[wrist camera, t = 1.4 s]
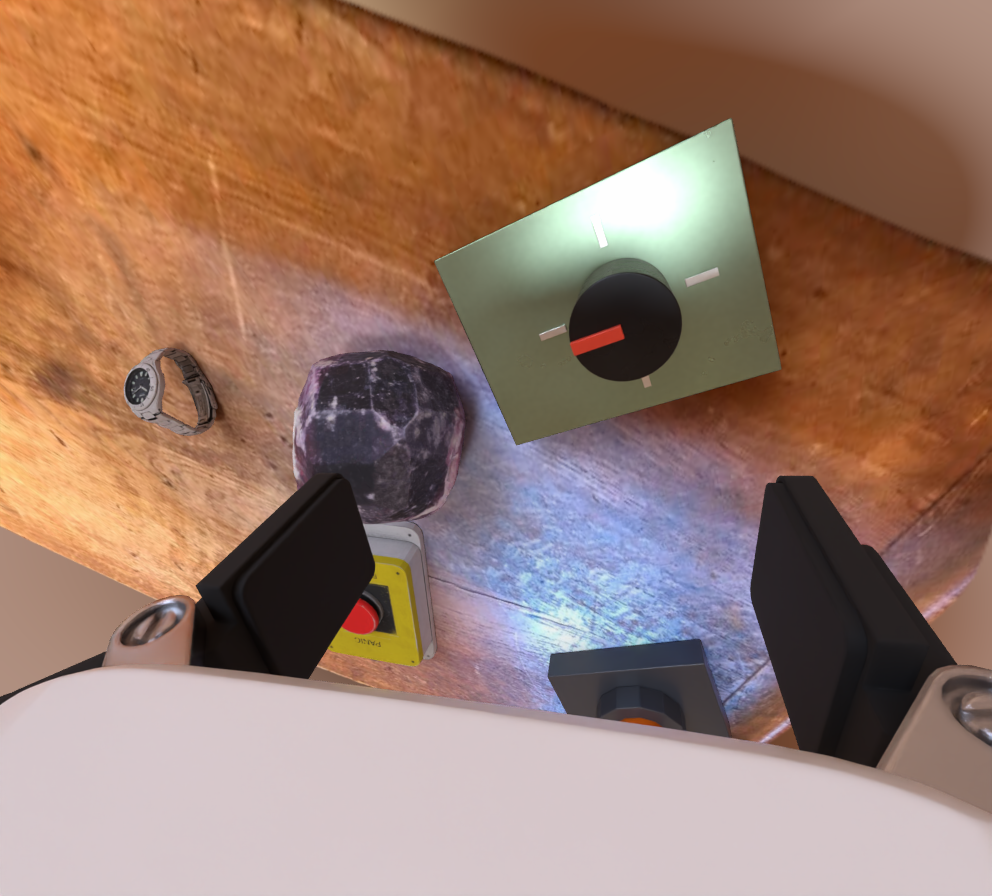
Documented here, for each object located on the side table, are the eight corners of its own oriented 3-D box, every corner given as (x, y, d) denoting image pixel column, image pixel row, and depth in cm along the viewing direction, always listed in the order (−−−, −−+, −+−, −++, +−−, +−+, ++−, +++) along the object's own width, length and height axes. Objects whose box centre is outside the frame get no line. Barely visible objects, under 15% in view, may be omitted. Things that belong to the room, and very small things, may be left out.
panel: (718, 126, 21) (733, 116, 19) (765, 351, 25) (783, 370, 22) (451, 254, 26) (432, 261, 24) (524, 424, 30) (515, 447, 28)
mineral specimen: (353, 288, 27) (325, 390, 19) (494, 378, 32) (513, 487, 24) (279, 401, 31) (233, 520, 24) (413, 465, 36) (409, 578, 29)
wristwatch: (192, 337, 33) (129, 359, 29) (237, 417, 35) (185, 448, 31) (157, 349, 34) (91, 371, 30) (204, 425, 37) (149, 456, 32)
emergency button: (398, 561, 33) (420, 699, 40) (421, 523, 36) (438, 655, 43) (279, 545, 34) (321, 679, 42) (313, 510, 38) (346, 638, 45)
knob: (657, 241, 21) (665, 253, 17) (682, 333, 23) (695, 364, 19) (564, 279, 23) (552, 299, 19) (593, 362, 24) (588, 397, 20)
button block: (700, 638, 35) (708, 686, 32) (729, 723, 39) (739, 774, 36) (550, 653, 40) (544, 697, 36) (588, 729, 44) (586, 775, 40)
